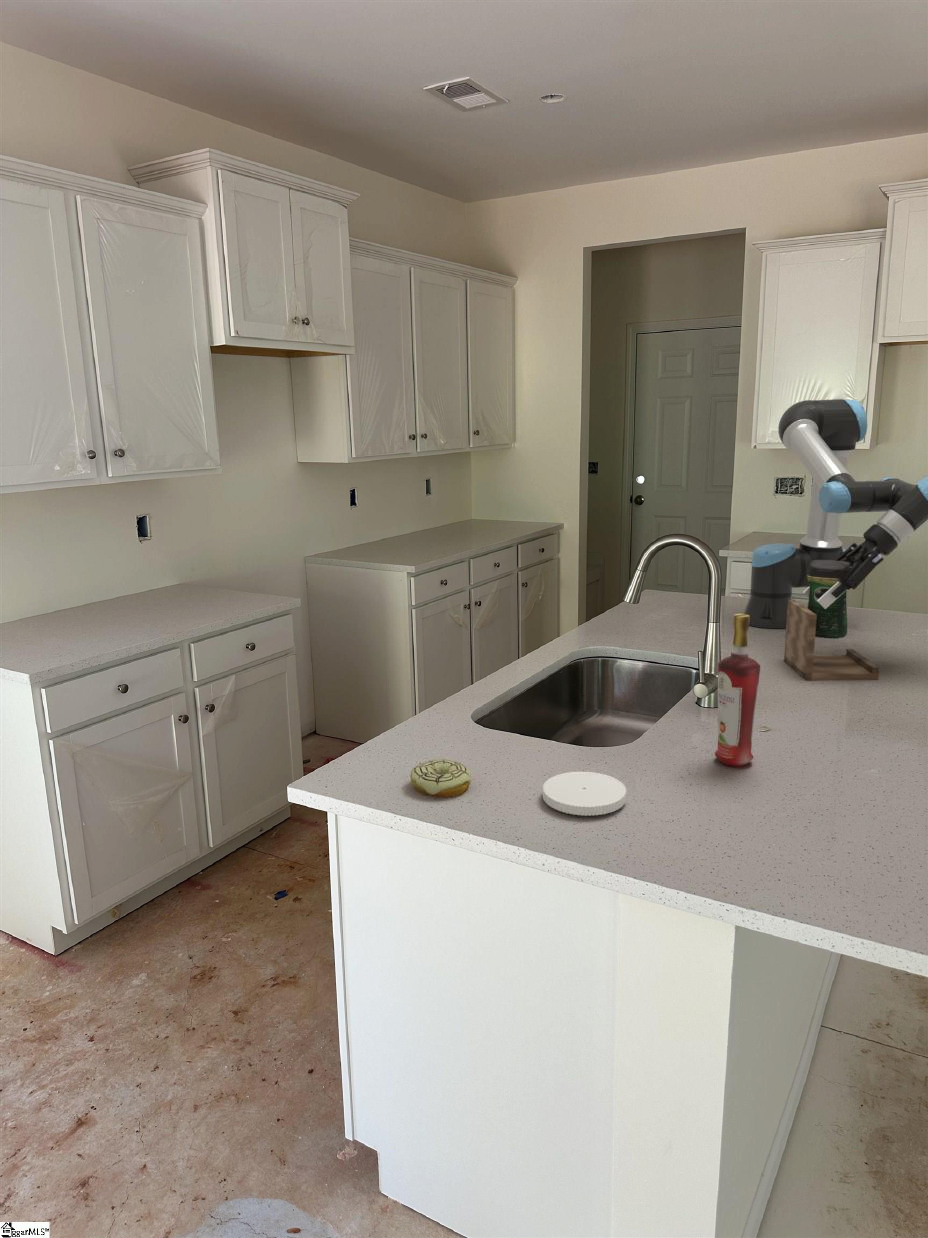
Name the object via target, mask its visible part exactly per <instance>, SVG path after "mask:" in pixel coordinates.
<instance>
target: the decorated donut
mask: <svg viewBox="0 0 928 1238" xmlns="http://www.w3.org/2000/svg"><path fill="white" fill-rule="evenodd" d="M409 776H410V782H411V784H412V785H413V788H414V789H415V790H416V791H417V792H418V793H420V794H421V793H422V794H423V795H426V796H430V795H431V797H434V796H436V798H438V797H442V798H451V796H452V797H458V796H461V795H462V794H463V793H465V792H466V791H467V790H468V789H469V787H470V785H471V782H472V774H471V771H470V769H469V768H468V767H467V765H465V764H463V763H461V762H458V761H456V760H449V759H445V758H444V759H443V758H442V759H432V760H428V761H427V760H426V761H425V762H422V763H419V764H417V765H415V766H413V767H412V769H411V770H410V775H409ZM457 795H458V796H457Z"/></svg>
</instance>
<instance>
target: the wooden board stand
mask: <svg viewBox="0 0 928 1238" xmlns="http://www.w3.org/2000/svg"><path fill="white" fill-rule="evenodd" d="M816 618H817V615H816V614H815V613H813V612H812V611H810V610H809V609H807V607H805V606H804V605H802V604H801V603H799V602H798V601H796V599H792V600H788V608H787V623H786V628H785V638H784V639H785V640H784V651H783V653H784V654H783V656H784V658H783V661H784V663H785V664H786V665H787V666H789V667H790V668H791V669H792V670H793V671H795V672H796V674H797V675H799V677H801V678H802V679H803V680H804V681H865V680H867V681H870V680H871V681H873V680H875V681H877V680H879V673H880V667H879V666H878V665H876V664H874V663H873V662H872V661H870V659H868V658H866V657H864V656H863V655H862V654H860V653H859V652H857V651H856V650H855V649H853V648H846V651H845V654H815V644H816V637H815V631H816Z"/></svg>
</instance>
